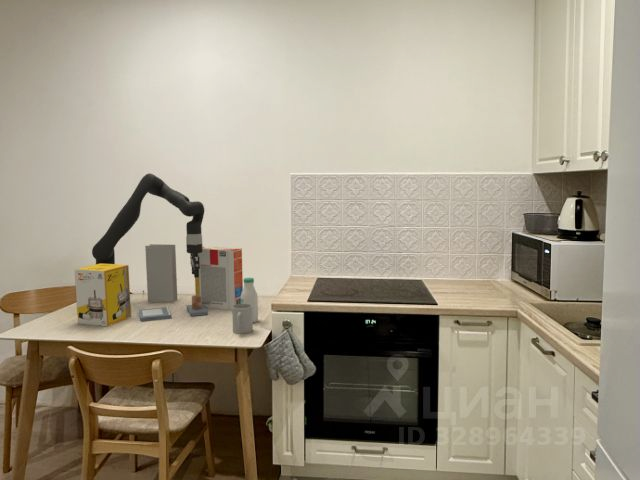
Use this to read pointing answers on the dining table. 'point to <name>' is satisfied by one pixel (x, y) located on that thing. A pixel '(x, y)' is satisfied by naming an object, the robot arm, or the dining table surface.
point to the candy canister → (250, 297)
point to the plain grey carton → (161, 273)
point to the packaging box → (102, 294)
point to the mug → (242, 318)
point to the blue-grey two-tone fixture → (196, 307)
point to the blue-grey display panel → (154, 314)
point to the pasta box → (220, 277)
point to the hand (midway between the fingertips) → (195, 275)
